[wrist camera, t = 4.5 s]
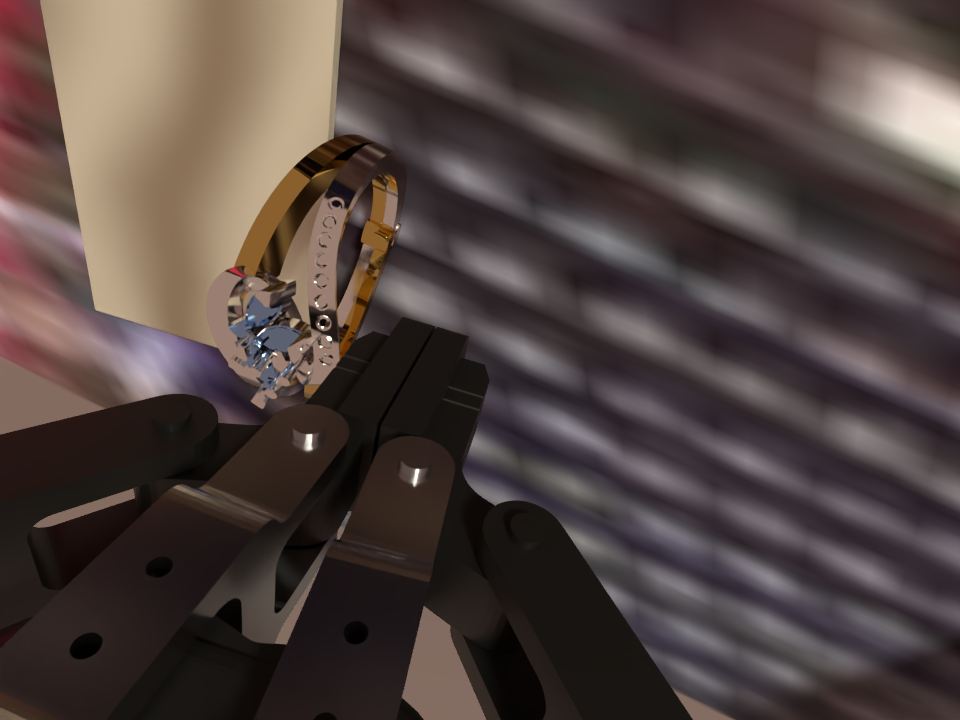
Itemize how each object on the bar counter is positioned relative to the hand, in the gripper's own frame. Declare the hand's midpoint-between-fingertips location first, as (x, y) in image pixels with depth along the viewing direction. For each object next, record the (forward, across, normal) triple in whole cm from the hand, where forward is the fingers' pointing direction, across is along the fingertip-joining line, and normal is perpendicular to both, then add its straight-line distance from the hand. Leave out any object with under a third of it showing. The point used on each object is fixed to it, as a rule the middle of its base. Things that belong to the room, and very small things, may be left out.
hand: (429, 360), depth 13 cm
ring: (+7, +3, 0) cm, 8 cm away
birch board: (+7, +10, 0) cm, 12 cm away
